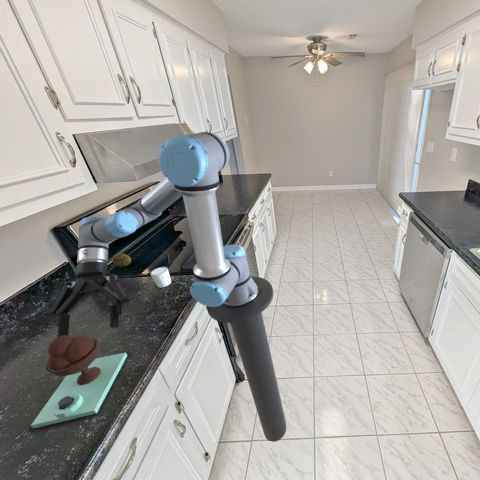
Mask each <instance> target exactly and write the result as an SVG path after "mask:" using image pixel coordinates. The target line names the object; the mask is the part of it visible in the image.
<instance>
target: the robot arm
mask: <svg viewBox="0 0 480 480" xmlns="http://www.w3.org/2000/svg"><path fill="white" fill-rule="evenodd" d="M229 149H230V148H229V146H228V145H227V143H226V141H225V140H224V139H223V138H222V137H221V136H219V135H217V134H216V133H213V132H210V131H201V132H197V133H188V134H179V135H177V136H175V137H172V138H169V139H168V140H166V141H165V142H163V144H162V145H161V146H160V148H159V152H158V166H159V169H160V171H161V173H162V175H163V176H164V178H163V179H162V180H160V181H159V182H158V183H157V184H156V185H155V186H154V187H152V188H151V189H150V190H149V191H148V192H147V193H146V194H144V196H142V197H141V199H139V200H138V201H137V202H136V203H134V204H132V205H130V206H128V207H126V208H123V209H121V210H118V211H117V212H114V213H112V214H110V215H108V216H106V217H101V216H90V217H89V216H86V217H84V218H82V219H81V220H80V223H79V228H78V243H77V258H76V263H77V264H76V269H75V276H76V280H75V281H64V283H63V286H62V290H61V291H60V293H59V295H57V298H56V299H55V301H54V302H53V304H52V306H51V307H50V309H49V311H48V314H49V315H55V316H56V322H55V327H58V328H57V337H56V338H58V337H60V336H63V335H69V330H70V328H69V327H70V316H71V315H70V314H69V312H70V311H71V310H72V309H73V307H74V306H75V305H76V304H77V303H78V302H79V301H80V300H81V298H83V297H84V296H85V295H87V294H93V293H100V292H101V294H103V295H104V296H105V298H107V299H108V300H109V301H110V302H111V303H112V305H110V315H109V318H110V319H109V328H119V326H120V325H119V323H120V322H119V321H120V316H121V315H122V313H123V304H125V303H127V302H129V301H130V298H129V296H128V295H127V293H126V291H125V290H124V288H123V286H122V284H121V283H120V279H119V275H116V274H114V273H110V274H109V275H108V271H109V270H108V269H109V264H108V263H109V249H110V247H109V246H110V245H109V244H110V243H111V242H114V241H116V240H119V239H122V238H124V237H127V236H130V235H131V234H133V233H135V232H136V231H137V230H138V229H140V228H141V227H143V226H144V225H147V224H148V223H150V222H152V221H155V220H156V219H157V218H158V217H160V216H161V215H162V214H163V212H165V210H166V209H167V208H168V207H170V206H171V205H172V204H174V203H175V202H177V200H179V199H180V198H181V197H182V198H183V205H184V209H185V215H186V220H187V223H188V228H189V233H190V236H191V242H192V247H193V251H194V257H195V261H196V263H195V264H194V266H193V268H192V271H193V277H194V281H193V282H192V283H191V284H190V287H189V294H190V296H191V298H193V299H194V301H196V302H197V303H199V304H200V305H202V306H205V307H206V306H209V307H216V306H219V305H221V304H224V305H225V306H227V307H231V308H237V307H242V306H245V305H247V304H249V303H251V302H252V301H254V300H255V299H256V297H257V296H258V290H260V291H262V289H260V288H258V287H257V285H256V283H255V282H254V281H253V279H252V278H251V276H252V275H251V273H250V268H249V263H248V258H247V253H246V250H245V248H244V247H243V246H242V245H239V244H225V245H224V243H223V237H222V231H221V223H220V217H219V209H218V201H217V195H216V191H217V190H218V189H219V187H220V178H219V172H221V171H223V170H224V169H225V168H226V167H227V166H228V164H229V161H230V156H231V155H230V150H229ZM108 282H109V283H110V285H111V287H112V289H113V290H114V292H115V293H114V292H113V291H111V289H110V288H109V287H108V286H107V285H106V284H107V283H108Z"/></svg>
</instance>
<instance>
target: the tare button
mask: <svg viewBox="0 0 480 480" xmlns="http://www.w3.org/2000/svg"><path fill="white" fill-rule="evenodd" d="M72 403H73V399H72V398H71V397H70V396H66V397H64V398H62V399H61V400H60V401H59V402H58V405H59V407H60V408H61V409H65V408H67V407H69V406H70V405H71V404H72Z"/></svg>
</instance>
